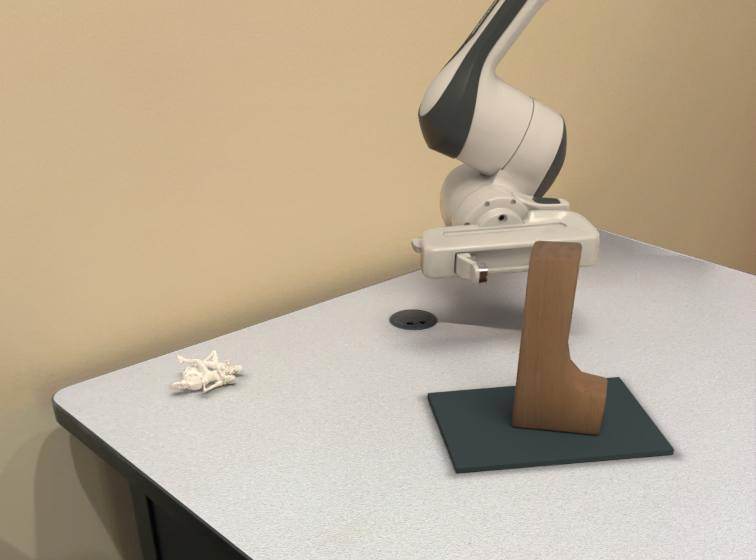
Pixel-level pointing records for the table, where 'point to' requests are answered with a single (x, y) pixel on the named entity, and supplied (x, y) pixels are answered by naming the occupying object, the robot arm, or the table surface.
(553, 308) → the wooden block
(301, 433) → the table surface
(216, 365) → the figurine
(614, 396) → the mat
